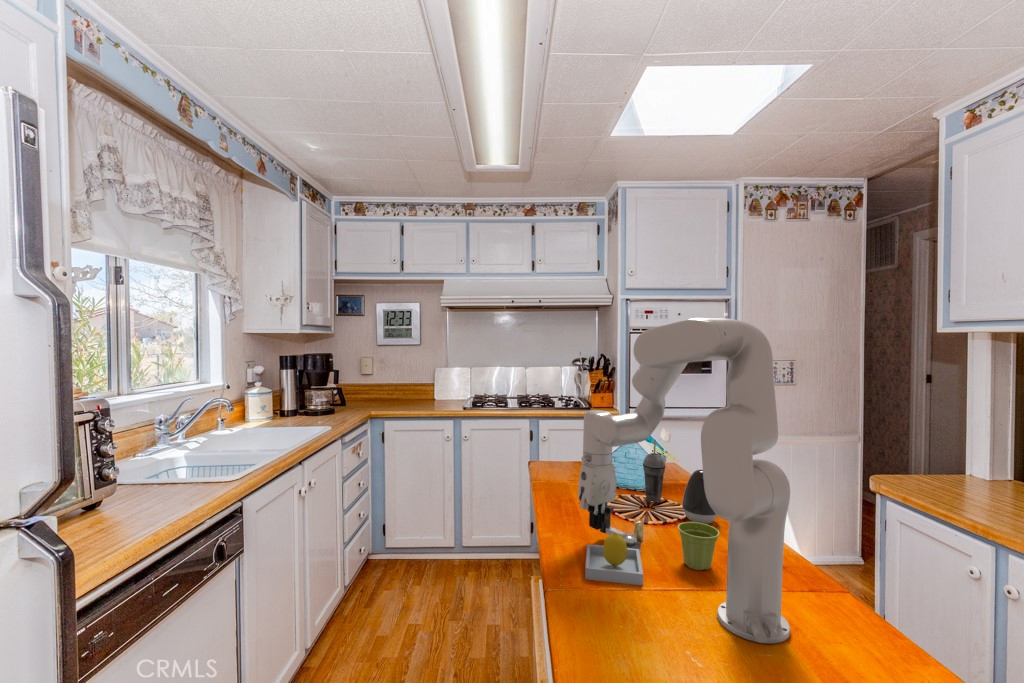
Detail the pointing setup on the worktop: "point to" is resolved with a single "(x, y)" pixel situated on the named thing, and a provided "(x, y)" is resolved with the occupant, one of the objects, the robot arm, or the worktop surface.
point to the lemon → (615, 549)
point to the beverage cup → (653, 475)
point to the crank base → (637, 534)
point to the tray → (607, 572)
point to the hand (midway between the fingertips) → (595, 527)
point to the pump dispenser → (697, 500)
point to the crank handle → (609, 530)
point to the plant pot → (698, 544)
